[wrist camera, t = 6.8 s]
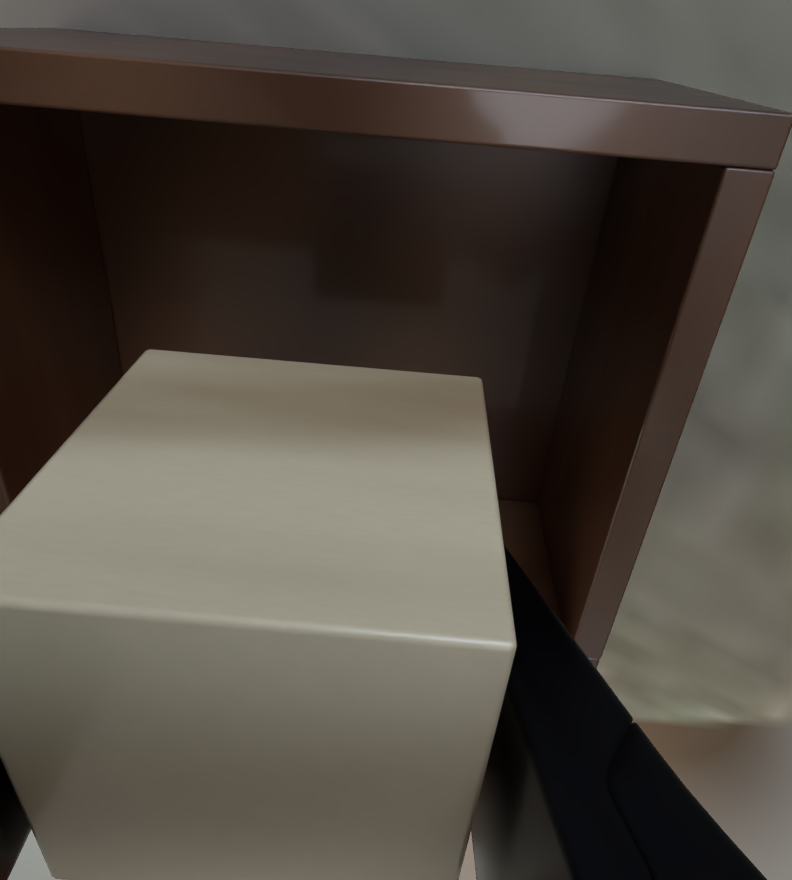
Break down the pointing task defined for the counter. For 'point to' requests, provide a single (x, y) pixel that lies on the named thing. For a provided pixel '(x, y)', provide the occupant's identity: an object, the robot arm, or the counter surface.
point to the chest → (384, 254)
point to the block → (257, 625)
